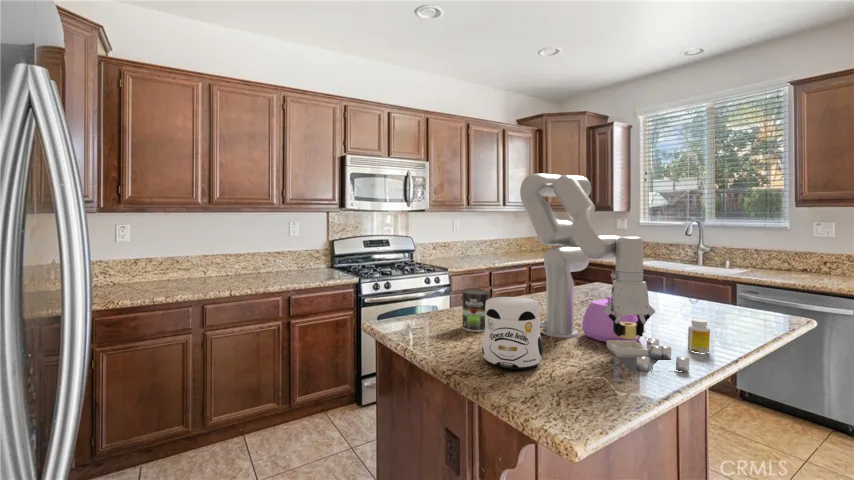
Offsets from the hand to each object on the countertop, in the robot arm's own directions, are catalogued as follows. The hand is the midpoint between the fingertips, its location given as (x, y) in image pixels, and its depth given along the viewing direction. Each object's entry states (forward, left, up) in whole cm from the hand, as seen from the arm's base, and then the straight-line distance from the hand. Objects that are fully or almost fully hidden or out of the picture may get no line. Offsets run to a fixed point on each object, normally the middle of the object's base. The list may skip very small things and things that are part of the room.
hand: (628, 334), depth 126 cm
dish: (0, 0, -6) cm, 6 cm away
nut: (0, 0, -1) cm, 1 cm away
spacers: (+3, -6, -6) cm, 9 cm away
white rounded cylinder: (-37, -10, -6) cm, 39 cm away
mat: (+3, -5, -6) cm, 8 cm away
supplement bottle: (+22, +3, -6) cm, 23 cm away
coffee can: (-46, +26, -6) cm, 53 cm away
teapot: (+1, +16, -6) cm, 17 cm away
